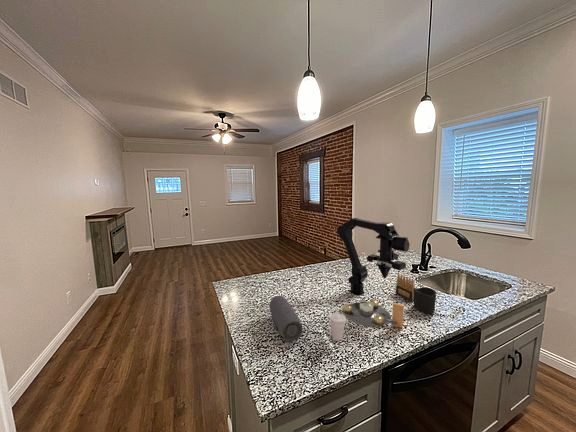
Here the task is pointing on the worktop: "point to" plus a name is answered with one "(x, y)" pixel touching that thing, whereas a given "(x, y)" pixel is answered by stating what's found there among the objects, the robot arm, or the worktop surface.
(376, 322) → the lever
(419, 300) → the pen holder
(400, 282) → the ammunition clip
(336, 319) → the smoothie
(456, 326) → the worktop surface
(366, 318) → the tribrach plate
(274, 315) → the bluetooth speaker
